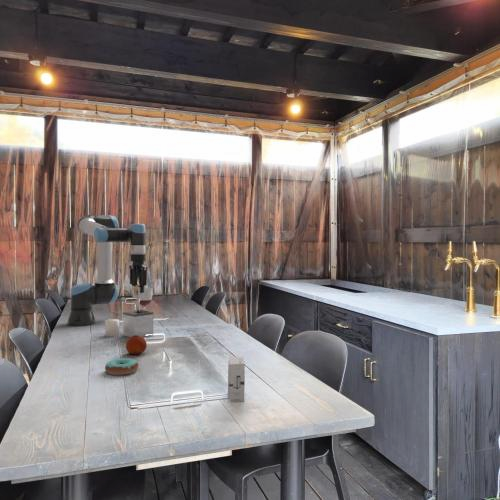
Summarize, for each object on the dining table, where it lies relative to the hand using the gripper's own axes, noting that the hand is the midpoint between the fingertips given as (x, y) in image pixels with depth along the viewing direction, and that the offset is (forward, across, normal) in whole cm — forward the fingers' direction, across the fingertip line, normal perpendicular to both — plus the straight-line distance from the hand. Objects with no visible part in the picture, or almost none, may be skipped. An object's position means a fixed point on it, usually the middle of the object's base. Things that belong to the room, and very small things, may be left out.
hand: (138, 298), depth 222 cm
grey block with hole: (+19, 0, 0) cm, 19 cm away
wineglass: (+19, -14, +13) cm, 27 cm away
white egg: (+19, -10, -9) cm, 23 cm away
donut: (+20, +49, -39) cm, 66 cm away
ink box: (+19, +99, -29) cm, 105 cm away
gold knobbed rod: (+12, 0, 0) cm, 12 cm away
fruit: (+19, +31, -21) cm, 42 cm away
